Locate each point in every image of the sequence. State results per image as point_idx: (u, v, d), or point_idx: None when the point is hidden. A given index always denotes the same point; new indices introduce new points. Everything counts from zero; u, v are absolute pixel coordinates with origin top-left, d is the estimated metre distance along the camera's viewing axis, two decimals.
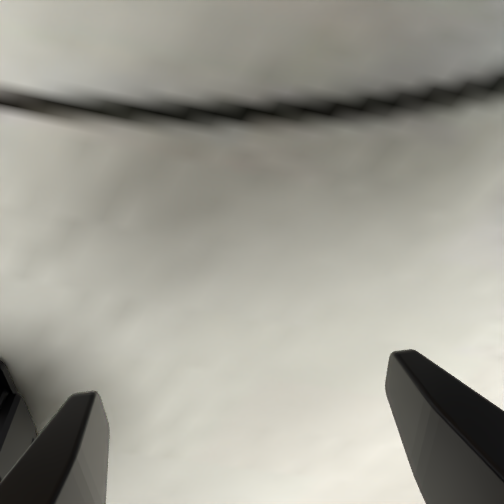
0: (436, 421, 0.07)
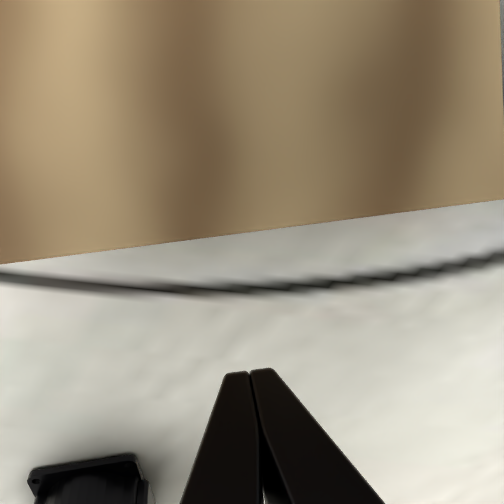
0: (265, 446, 0.06)
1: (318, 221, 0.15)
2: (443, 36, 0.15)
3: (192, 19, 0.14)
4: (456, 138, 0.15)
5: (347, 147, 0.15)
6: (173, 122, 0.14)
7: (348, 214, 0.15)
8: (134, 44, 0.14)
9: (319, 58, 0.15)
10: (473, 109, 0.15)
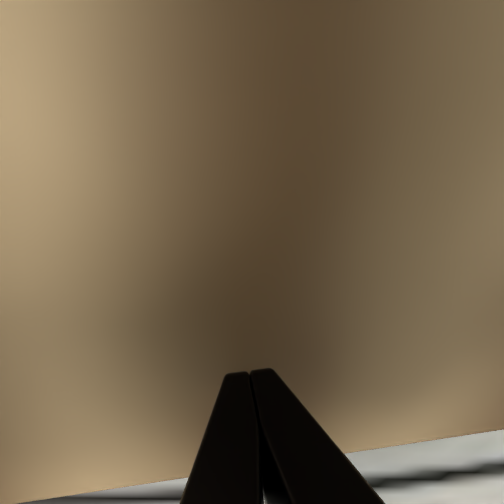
0: (264, 446, 0.06)
1: (438, 437, 0.10)
2: None
3: (300, 178, 0.06)
4: None
5: None
6: (241, 342, 0.08)
7: (482, 426, 0.10)
8: (172, 227, 0.07)
9: None
10: None
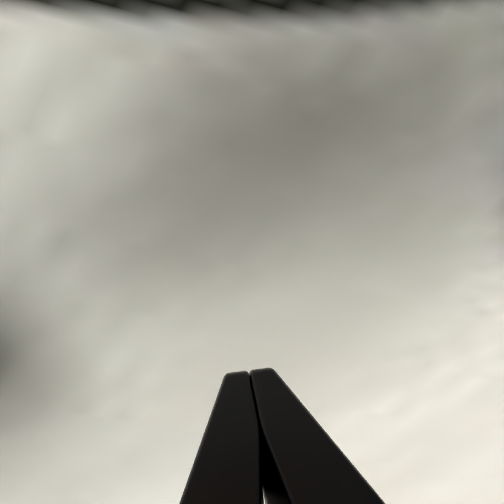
0: (264, 446, 0.06)
1: None
2: None
3: None
4: None
5: None
6: None
7: None
8: None
9: None
10: None
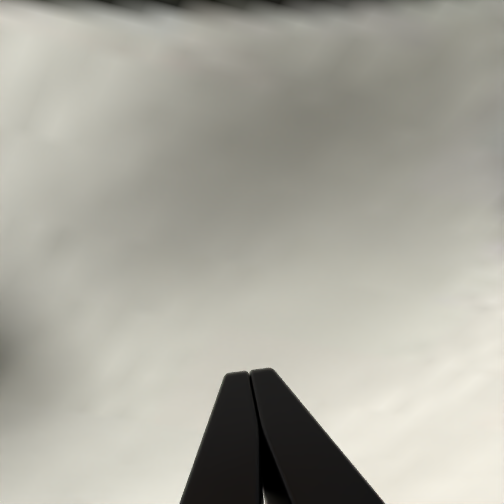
0: (264, 446, 0.06)
1: None
2: None
3: None
4: None
5: None
6: None
7: None
8: None
9: None
10: None
